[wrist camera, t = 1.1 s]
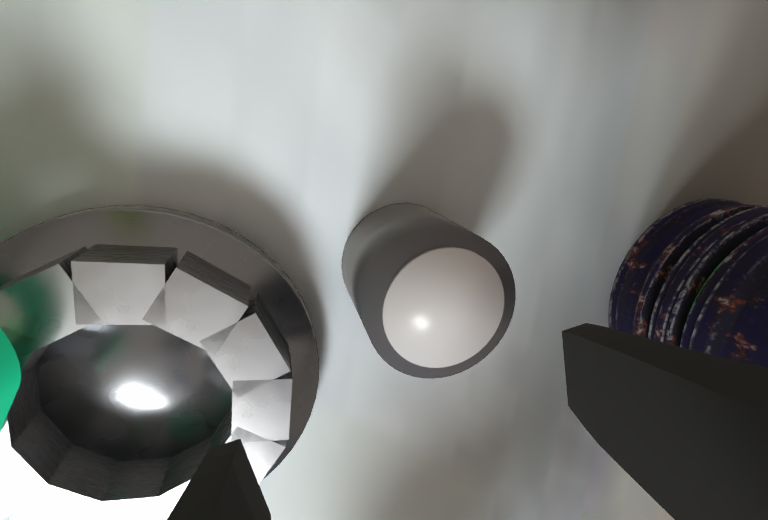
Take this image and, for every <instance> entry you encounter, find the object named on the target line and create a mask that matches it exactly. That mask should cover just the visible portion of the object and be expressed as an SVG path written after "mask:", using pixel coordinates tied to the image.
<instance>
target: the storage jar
mask: <svg viewBox="0 0 768 520" xmlns="http://www.w3.org/2000/svg"><path fill="white" fill-rule="evenodd" d="M609 327H610V328H611V329H615V330H619V331H623V332H627V333H630V334H634V335H638V336H642V337H645V338H649V339H653V340H656V341H660V342H664V343H668V344H671V345H675V346H679V347H683V348H686V349H690V350H694V351H698V352H702V353H706V354H710V355H714V356H718V357H723V358H727V359H731V360H736V361H740V362H745V363H749V364H754V365H758V366H763V367H767V368H768V206H758V205H749V204H746V205H745V204H742V203H739V202H735V201H729V200H722V199H703V200H698V201H694V202H690V203H687V204H685V205H683V206H680V207H678V208H676V209H674V210H672V211H671V212H669V213H668V214H666V215H664V216H663V217H661V218H660V219H659V220H658V221H656V222H655V223H654V224H653V225H652V226H650V227H649V228H648V229H647V230H646V231H645V233H644V234H643V235H642V236H641V237H640V238H639V239H638V240H637V242H636V243H635V244H634V246H633V247H632V248H631V250H630V251H629V252H628V254H627V256H626V258H625V259H624V261H623V263H622V265H621V267H620V269H619V271H618V274H617V276H616V279H615V281H614V285H613V288H612V292H611V296H610V303H609Z"/></svg>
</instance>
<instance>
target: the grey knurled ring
mask: <svg viewBox="0 0 768 520" xmlns="http://www.w3.org/2000/svg"><path fill="white" fill-rule="evenodd" d="M0 328H1V329H2V330H3V332H4V333H5V334H6V336H7V338H8V339H9V341H10V342H11V344H12V346H13V348H14V350H15V352H16V355H17V357H18V360H19V364H20V369H21V382H20V386H19V388H18V391H17V393H16V395H15V398H14V400H13V403H12V405H11V407H10V410H9V412H8V414H7V417H6V419H5V421H4V424H3V426H2V428H1V431H0V519H2V518H4V517H6V516H8V515H10V514H12V513H14V512H15V513H14V514H13V516H12V518H11V519H10V520H167V518H168V516H169V515H170V513H171V512H172V510H173V508H174V507H175V505H176V503H177V502H178V500H179V498H180V497H181V495H182V493H183V492H184V490H185V488H186V487H187V485H188V483H189V482H190V480H191V478H192V477H193V475H194V473H195V472H196V470H197V468H198V467H199V465H200V463H201V462H202V460H203V458H204V457H205V455H206V454H207V452H208V450H209V449H210V448H213V447H216V446H219V445H222V444H225V443H228V442H231V441H234V440H237V439H241V441H242V444H243V446H244V449H245V451H246V454H247V456H248V459H249V461H250V464H251V466H252V469H253V471H254V474H255V476H256V479H257V481H258V484H259V483H260V482H261V481H262V480H263V479H264V478H265V477H266V476H267V475H268V474H269V473H271V472H272V471H273V470H274V469H275V468H276V467H277V466H278V465H279V464H280V463H281V462H282V460H283V459H284V458H285V457H286V456H287V454H288V453H289V452H290V451H291V450H292V448H293V447H294V445H295V444H296V442H297V440H298V439H299V437H300V436H301V434H302V432H303V430H304V428H305V426H306V424H307V422H308V420H309V417H310V415H311V412H312V408H313V405H314V402H315V399H316V393H317V386H318V380H319V359H318V352H317V345H316V339H315V335H314V330H313V327H312V323H311V320H310V317H309V313H308V311H307V309H306V307H305V305H304V302H303V300H302V298H301V296H300V294H299V293H298V291H297V290H296V288H295V287H294V285H293V283H292V282H291V280H290V279H289V278H288V276H287V275H286V274H285V273H284V272H283V271H282V269H281V268H280V267H279V266H278V265H277V264H276V263H275V262H274V261H273V260H272V259H271V258H270V257H269V256H268V255H266V254H265V253H264V252H263V251H262V250H261V249H260V248H259V247H257V246H256V245H254V244H253V243H251V242H250V241H248V240H247V239H245V238H244V237H242V236H241V235H239V234H237V233H235V232H234V231H232V230H230V229H228V228H226V227H224V226H222V225H220V224H218V223H215V222H212V221H210V220H207V219H204V218H202V217H199V216H196V215H193V214H189V213H185V212H181V211H176V210H172V209H166V208H158V207H150V206H109V207H101V208H92V209H87V210H83V211H78V212H74V213H70V214H66V215H63V216H60V217H57V218H55V219H52V220H49V221H47V222H44V223H41V224H39V225H37V226H34V227H32V228H30V229H27V230H25V231H23V232H21V233H19V234H18V235H16V236H14V237H12V238H10V239H8V240H6V241H5V242H3V243H1V244H0Z"/></svg>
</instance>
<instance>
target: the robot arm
mask: <svg viewBox="0 0 768 520" xmlns="http://www.w3.org/2000/svg"><path fill="white" fill-rule="evenodd" d="M562 338H563V350H564V361H565V373H566V384H567V396H568V406H569V407H570V409H571V410H572V411H573V412H574V414H575V415H576V416H577V418H578V419H579V420H580V422H581V423H582V424H583V426H584V427H585V428H586V429H587V431H588V432H589V433H590V434H591V435H592V437H593V438H594V439H595V440H596V442H597V443H598V444H599V445H600V446H601V447H602V448H603V449H604V450H605V451H606V452H607V453H608V454H609V455H610V456H611V457H612V458H613V459H614V460H615V461H616V462H617V463H618V464H619V465H620V466H621V467H622V468H623V469H624V470H625V471H626V472H627V473H628V474H629V475H630V476H631V477H632V478H633V479H634V480H635V481H636V482H637V483H638V484H639V485H640V486H641V487H642V488H643V489H644V490H645V491H646V492H647V493H648V494H649V495H650V496H651V497H652V498H653V499H654V500H655V501H656V502H657V503H658V504H659V505H660V506H661V507H662V508H664V509H665V510H666V511H667V512H668V513H669V514H670V515H671V516H672V517H673V518H674V519H675V520H768V368H767V367H763V366H758V365H754V364H749V363H745V362H740V361H736V360H731V359H727V358H723V357H718V356H714V355H710V354H706V353H702V352H698V351H694V350H690V349H686V348H683V347H679V346H675V345H671V344H668V343H664V342H660V341H656V340H653V339H649V338H645V337H642V336H638V335H634V334H630V333H627V332H623V331H619V330H615V329H611V328H607V327H603V326H598V325H593V324H588V323H585V324H582V325H579V326H576V327H573V328H570V329H567V330H564V331H562ZM167 520H271V514H270V511H269V509H268V506H267V504H266V501H265V499H264V496H263V494H262V491H261V489H260V486H259V484H258V481H257V479H256V476H255V474H254V471H253V469H252V466H251V464H250V461H249V459H248V456H247V454H246V451H245V449H244V446H243V444H242V441H241V439H237V440H234V441H231V442H228V443H225V444H222V445H219V446H216V447H213V448H210V449H209V450H208V452H207V454H206V455H205V457H204V458H203V460H202V462H201V463H200V465H199V467H198V468H197V470H196V472H195V473H194V475H193V477H192V478H191V480H190V482H189V483H188V485H187V487H186V488H185V490H184V492H183V493H182V495H181V497H180V498H179V500H178V502H177V503H176V505H175V507H174V508H173V510H172V512H171V513H170V515H169V516H168V518H167Z"/></svg>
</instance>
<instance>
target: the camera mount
mask: <svg viewBox="0 0 768 520" xmlns="http://www.w3.org/2000/svg"><path fill="white" fill-rule="evenodd" d="M20 382H21V369H20V364H19V360H18V357H17V355H16V352H15V350H14V348H13V346H12V344H11V342H10V341H9V339H8V338H7V336H6V334H5V333H4V332H3V330H2V329H1V328H0V431H1V428H2V426H3V424H4V421H5V419H6V417H7V414H8V412H9V410H10V407H11V405H12V403H13V400H14V398H15V395H16V393H17V391H18V388H19V386H20Z"/></svg>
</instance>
